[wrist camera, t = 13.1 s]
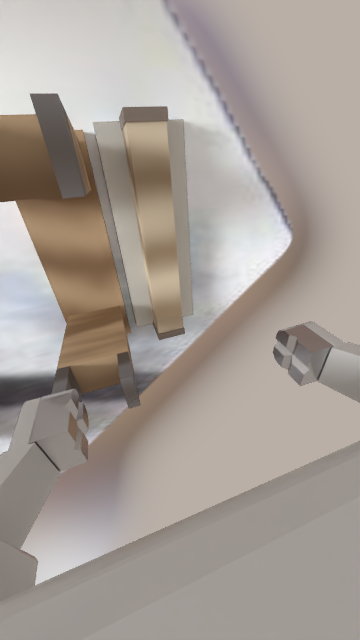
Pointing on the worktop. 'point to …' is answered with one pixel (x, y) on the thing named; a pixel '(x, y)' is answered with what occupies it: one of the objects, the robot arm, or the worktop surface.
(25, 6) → the worktop surface
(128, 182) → the mat
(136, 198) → the rail
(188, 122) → the worktop surface
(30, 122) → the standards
